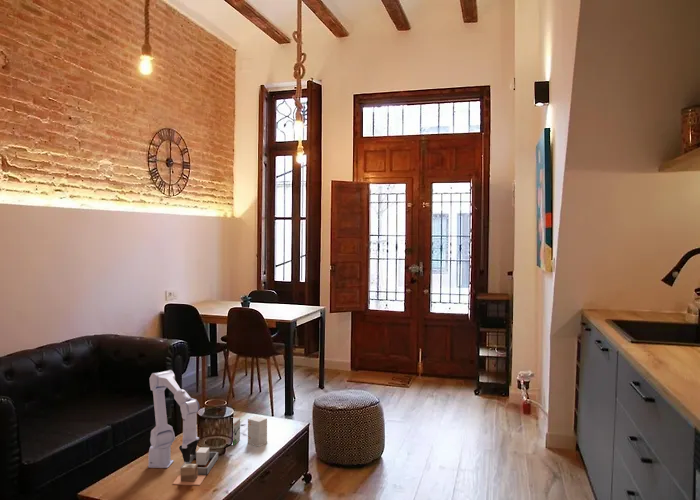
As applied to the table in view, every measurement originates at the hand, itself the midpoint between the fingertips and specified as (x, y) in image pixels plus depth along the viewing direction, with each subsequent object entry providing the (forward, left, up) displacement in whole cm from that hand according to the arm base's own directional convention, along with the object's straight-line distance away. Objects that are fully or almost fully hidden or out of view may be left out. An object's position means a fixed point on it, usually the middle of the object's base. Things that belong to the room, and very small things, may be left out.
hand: (189, 458), depth 241 cm
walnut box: (0, 0, -10) cm, 10 cm away
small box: (+21, +44, -10) cm, 50 cm away
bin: (0, +15, -10) cm, 18 cm away
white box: (0, +19, -10) cm, 22 cm away
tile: (0, 0, -10) cm, 10 cm away
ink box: (+8, +44, -10) cm, 46 cm away
